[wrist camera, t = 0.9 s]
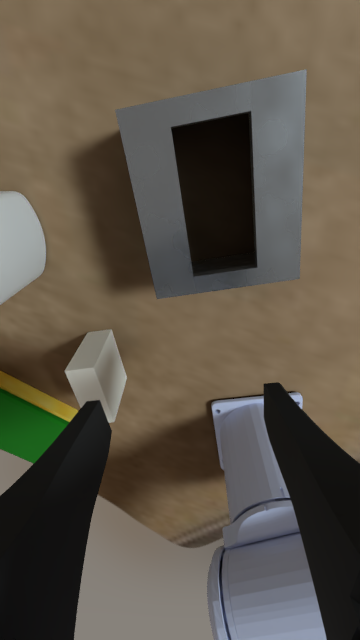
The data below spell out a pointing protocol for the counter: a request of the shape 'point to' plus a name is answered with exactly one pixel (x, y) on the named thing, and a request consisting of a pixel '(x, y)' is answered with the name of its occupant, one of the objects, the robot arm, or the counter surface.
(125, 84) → the counter surface
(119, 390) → the block
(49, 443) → the dish sponge
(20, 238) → the eye dropper bottle
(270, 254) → the slot box
